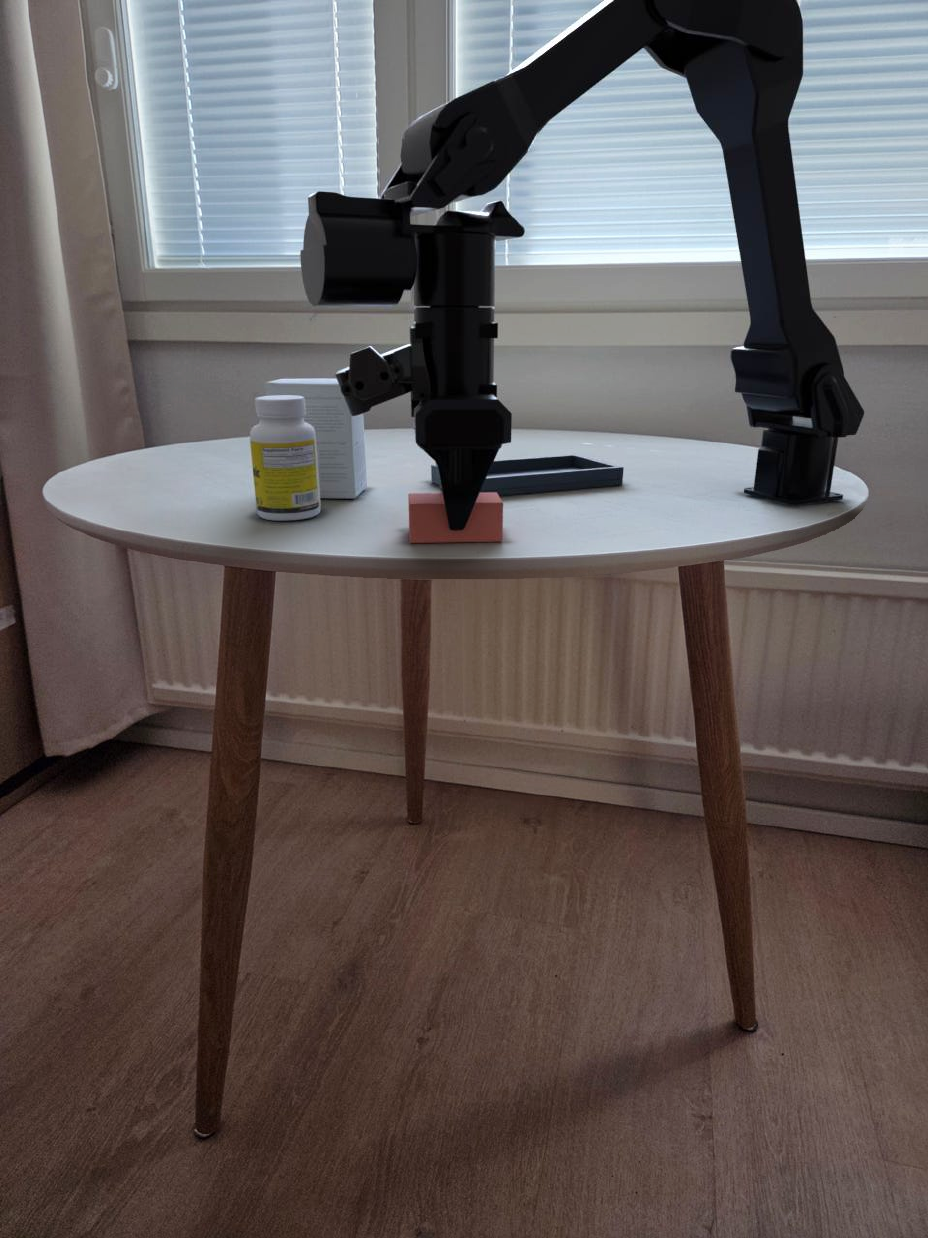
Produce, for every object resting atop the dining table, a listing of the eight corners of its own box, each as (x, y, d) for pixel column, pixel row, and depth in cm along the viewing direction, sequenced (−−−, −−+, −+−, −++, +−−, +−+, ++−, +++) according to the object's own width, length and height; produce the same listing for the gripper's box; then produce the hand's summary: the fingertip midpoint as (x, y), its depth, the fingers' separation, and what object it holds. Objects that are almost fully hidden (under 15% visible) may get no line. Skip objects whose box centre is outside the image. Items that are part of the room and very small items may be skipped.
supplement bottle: (265, 507, 75) (256, 394, 71) (326, 508, 75) (320, 394, 71) (249, 521, 70) (238, 399, 66) (314, 522, 69) (306, 400, 66)
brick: (496, 529, 67) (497, 492, 66) (502, 541, 64) (503, 502, 63) (409, 530, 67) (408, 493, 66) (409, 543, 63) (409, 503, 62)
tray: (574, 470, 93) (575, 454, 93) (622, 484, 85) (623, 467, 85) (431, 482, 86) (430, 464, 86) (468, 498, 79) (468, 479, 78)
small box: (368, 488, 83) (364, 377, 80) (355, 500, 78) (350, 382, 74) (288, 486, 84) (281, 377, 80) (271, 498, 79) (262, 381, 75)
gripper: (346, 308, 68) (355, 499, 73) (330, 305, 50) (342, 557, 56) (484, 308, 69) (482, 498, 74) (515, 306, 51) (510, 554, 56)
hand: (454, 523), depth 65 cm, fingers closed on brick, 4 cm apart
